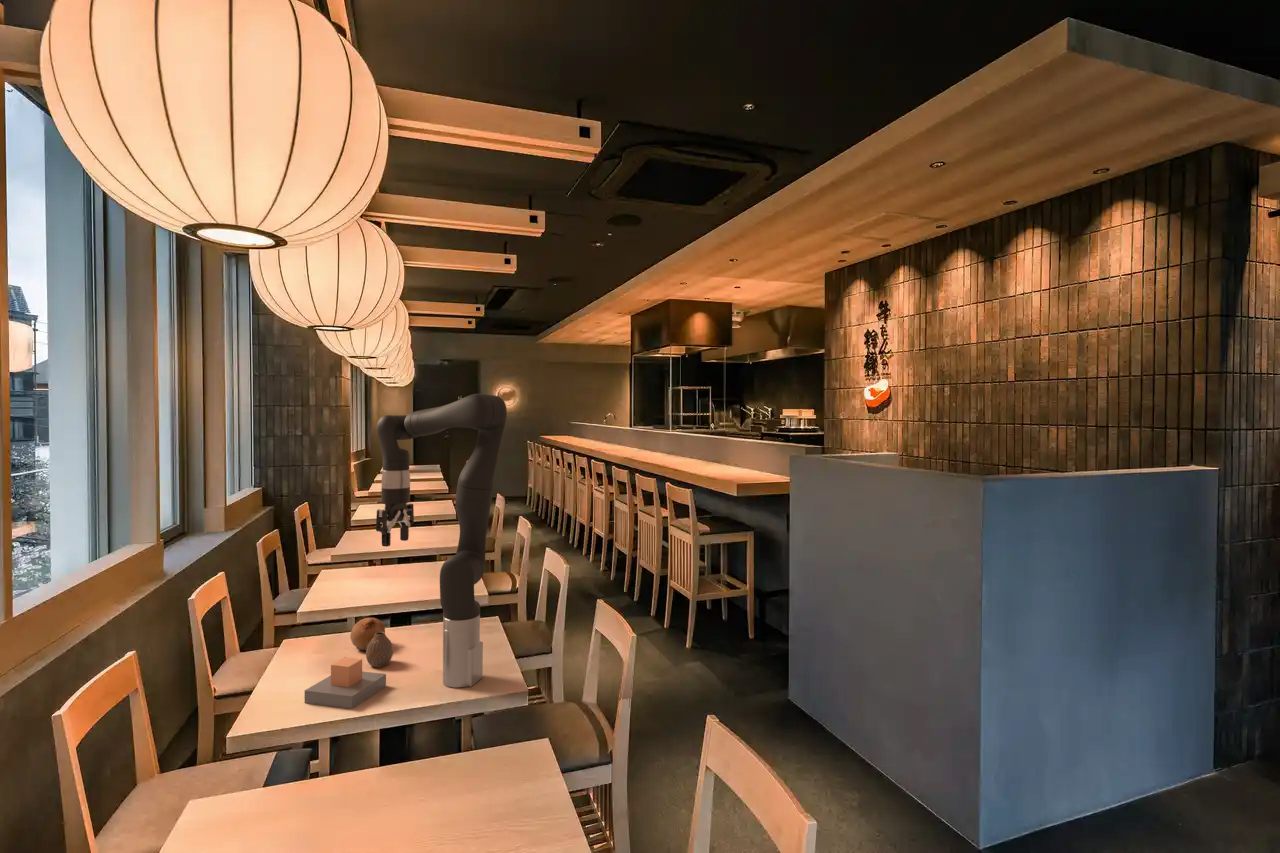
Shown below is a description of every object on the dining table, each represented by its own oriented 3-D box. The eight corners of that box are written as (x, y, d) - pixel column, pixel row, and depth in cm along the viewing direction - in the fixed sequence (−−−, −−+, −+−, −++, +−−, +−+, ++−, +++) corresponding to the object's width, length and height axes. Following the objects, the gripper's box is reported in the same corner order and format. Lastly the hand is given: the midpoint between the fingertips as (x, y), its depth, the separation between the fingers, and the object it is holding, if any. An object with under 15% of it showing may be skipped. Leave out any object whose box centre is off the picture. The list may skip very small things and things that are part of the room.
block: (362, 678, 155) (362, 659, 155) (348, 687, 150) (348, 666, 150) (344, 676, 156) (345, 657, 156) (330, 685, 151) (330, 664, 151)
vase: (397, 660, 175) (397, 629, 174) (385, 670, 168) (385, 638, 168) (374, 659, 175) (374, 628, 175) (360, 669, 168) (361, 637, 168)
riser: (386, 685, 158) (386, 674, 158) (351, 709, 145) (352, 696, 145) (341, 680, 161) (341, 669, 161) (304, 702, 148) (304, 690, 148)
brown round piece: (373, 661, 181) (378, 635, 177) (342, 652, 181) (346, 626, 177) (388, 639, 190) (392, 614, 186) (358, 630, 190) (362, 605, 186)
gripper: (392, 489, 167) (392, 549, 167) (422, 483, 180) (421, 539, 181) (367, 488, 168) (367, 547, 168) (399, 482, 182) (398, 537, 182)
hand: (395, 543), depth 175 cm, fingers open, 8 cm apart
